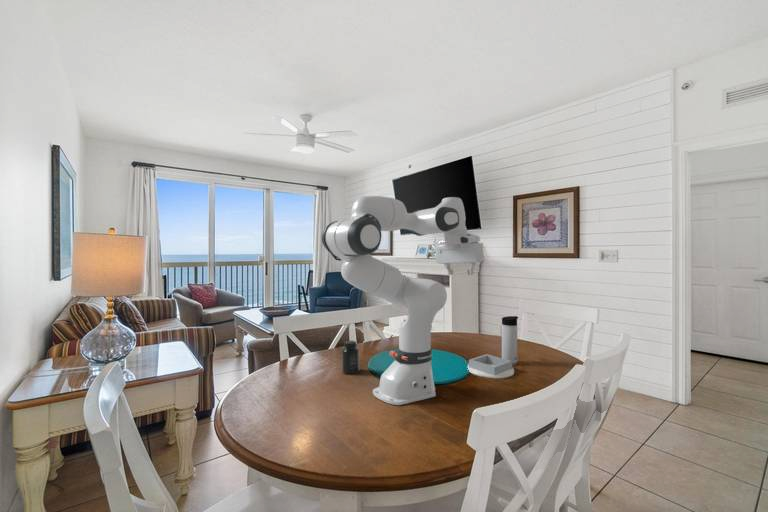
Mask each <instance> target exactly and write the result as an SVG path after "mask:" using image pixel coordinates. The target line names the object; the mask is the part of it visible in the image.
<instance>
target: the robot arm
mask: <svg viewBox="0 0 768 512" xmlns="http://www.w3.org/2000/svg"><path fill="white" fill-rule="evenodd" d="M466 219H467V217H466V211H465V206H464V202H463V200H462V198H460V197H457V196H446V197H444V198H442V200H441V202H440V203H438V205H436V206H435V207H431V208H425V209H418V210H414V211H412V212H408V211H407V208H406V206H405V204H404V203H403V201H401V200H399V199H396V198H393V197H389V196H382V195H381V196H380V195H367V196H360V197H358V198H357V199H355V200H354V202H353V203H352V207H351V216H350V217H349V218H347V219H342V220H335V221H333V222H330V223H328V225H326V226H325V228H324V229H322V232H321V243H322V245H323V247H324V248H325V250H326V251H327V252H328V253H330V255H331V257H333V259H334V260H335V261H341V268H340V273H341V277H342V279H343V280H344V281H346V282H347V283H348V284H350V285H351V286H353V287H355V288H356V289H358V290H360V291H363V292H365V293H367V294H370V295H373V296H375V297H377V298H381V299H383V300H385V301H387V302H388V303H390V304H392V305H394V306H396V307H399V308H404V309H408V313H407V318H406V319H405V320H404V321H403V322H401V323H400V325H399V327H398V348H397V350H396V351H394V350H391V351H389V356H390V357H391V358H394V361H393V362H392V363H391V364H390V365H389V366H388V368H386V370H385V371H384V372H383V373H382V374H381V375H380V379H379V386H377V387H375V388H374V389H373V390H372V395H373V396H374V397H375V398H377V399H379V400H380V401H381V402H385V403H387V404H389V405H395V406H402V405H406V404H410V403H415V402H419V401H423V400H426V399H427V400H428V399H430V398H435V397H436V396H437V393H436V386H435V382H434V375H433V368H432V359H433V351H432V347H431V344H432V343H431V337H432V336H431V335H432V326H433V325H432V324H433V321H434V319H435V317H436V315H437V313H439V311H440V310H442V309H443V308H444V307H445V305H446V302H447V298H448V293H447V290H446V286H445V285H443V283H441V282H439V281H436V280H433V279H430V278H421V277H420V278H418V277H412V276H407V275H404V274H402V273H401V271H400V269H399V268H398V267H395V266H393V265H392V264H391V265H390V264H388V263H386V262H384V261H383V260H380V259H378V258H376V257H373V256H372V255H371V254H373V253H374V252H376V251H377V250H378V249H379V247H380V246H381V245H380V244H381V241H382V232H393V231H399V230H405V231H409V232H411V233H412V234H413V235H415V236H418V237H421V236H423V237H424V236H427V235H432V234H433V235H434V234H442V233H443V236H444V237H443V238H444V240H438V241H437V242H436V243H435V262H436V263H437V264H438V265H443V267H444V268H445V270H446V271H447V272H446V273H447V275H449V276H450V275H454V269H452V268H451V267H450V266H451V264H468V266H469V269H467V275H469V276H470V275H474V268H475V267H476V263H482V262H483V260H484V251H483V246H482V244H481V243H480V241H481V237H480V236H479V235H478V234H477V235H476V234H473V233H469V232H468V230H467V226H466Z"/></svg>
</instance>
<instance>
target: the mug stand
mask: <svg viewBox="0 0 768 512" xmlns="http://www.w3.org/2000/svg"><path fill="white" fill-rule="evenodd" d="M467 368H468V369H467ZM467 368H466V369H467V371H468V370H469V371H468V372H469V373H471V375H474V376H477V377H481V378H486V379H494V380H496V379H499V380H500V379H507V378H510V377H513V376H514V375H515V369H514V367H513V365H512V361H510V360H506V359H503V358H502V357H498V356H494V355H491V354H489V353H488V354H487V353H486V354H483V355H480V356H476V357H474V358H471V359H468V363H467Z"/></svg>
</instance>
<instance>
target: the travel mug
mask: <svg viewBox="0 0 768 512" xmlns="http://www.w3.org/2000/svg"><path fill="white" fill-rule="evenodd" d="M518 319H519V316H518V315H515V316H503V317H502V318H501V358H503V359H506V360H510V361H512V366H516V365H517V364H518Z"/></svg>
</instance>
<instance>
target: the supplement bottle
mask: <svg viewBox="0 0 768 512" xmlns="http://www.w3.org/2000/svg"><path fill="white" fill-rule="evenodd" d="M359 353H360V352H359V348H357V342H356V341H355V340H346V341H343V348H342V350H341V371H342V373H343V374H346V375H354V374H355V375H356V374H358V373H359V371H360V356H359V355H360V354H359Z"/></svg>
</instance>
